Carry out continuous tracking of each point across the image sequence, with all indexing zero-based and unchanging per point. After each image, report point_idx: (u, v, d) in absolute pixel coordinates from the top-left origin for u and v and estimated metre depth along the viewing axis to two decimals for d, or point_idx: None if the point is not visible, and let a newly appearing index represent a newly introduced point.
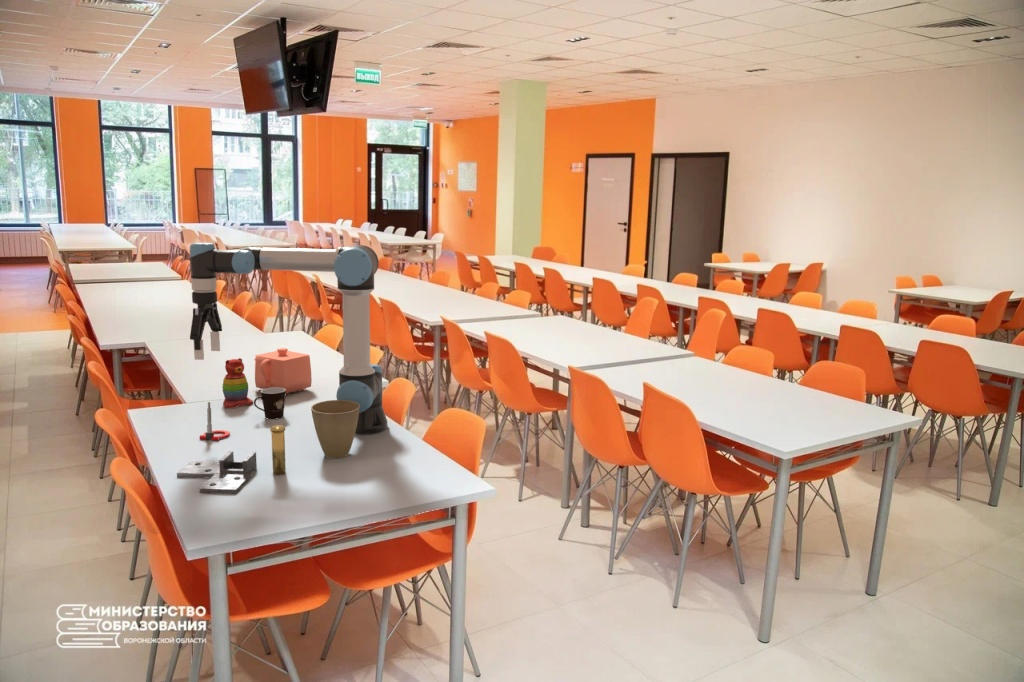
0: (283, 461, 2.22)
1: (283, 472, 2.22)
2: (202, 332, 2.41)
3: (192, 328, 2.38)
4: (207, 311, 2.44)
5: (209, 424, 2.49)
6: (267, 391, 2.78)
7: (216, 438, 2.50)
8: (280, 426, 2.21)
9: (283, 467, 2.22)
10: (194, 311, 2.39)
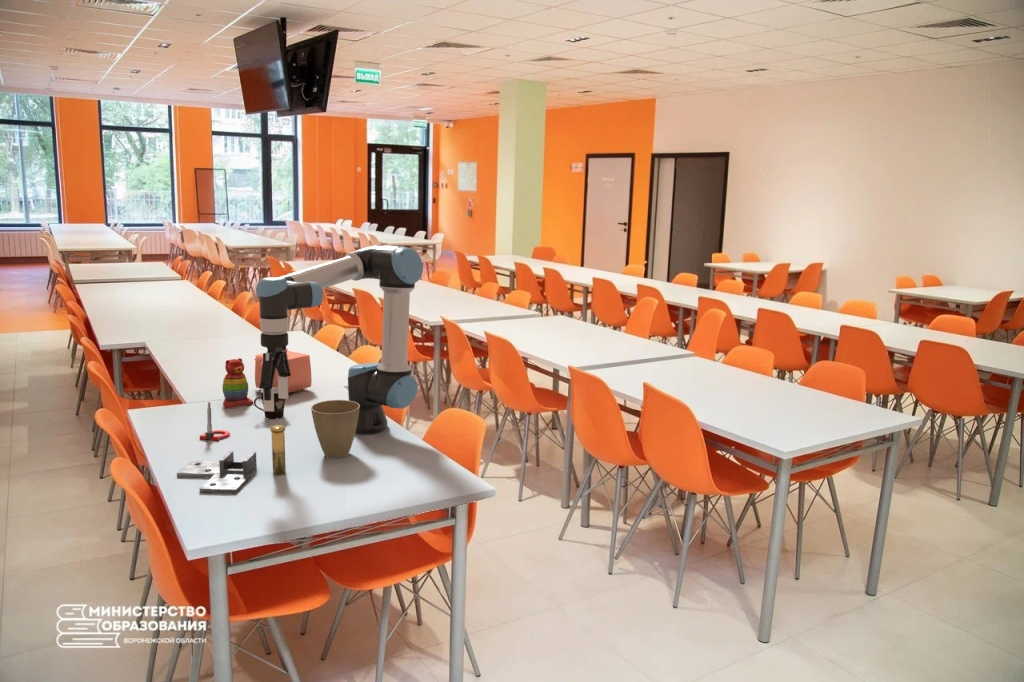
0: (283, 461, 2.22)
1: (283, 472, 2.22)
2: (273, 380, 2.11)
3: (262, 376, 2.08)
4: (278, 355, 2.14)
5: (209, 424, 2.49)
6: None
7: (216, 438, 2.50)
8: (280, 426, 2.21)
9: (283, 467, 2.22)
10: (265, 357, 2.09)
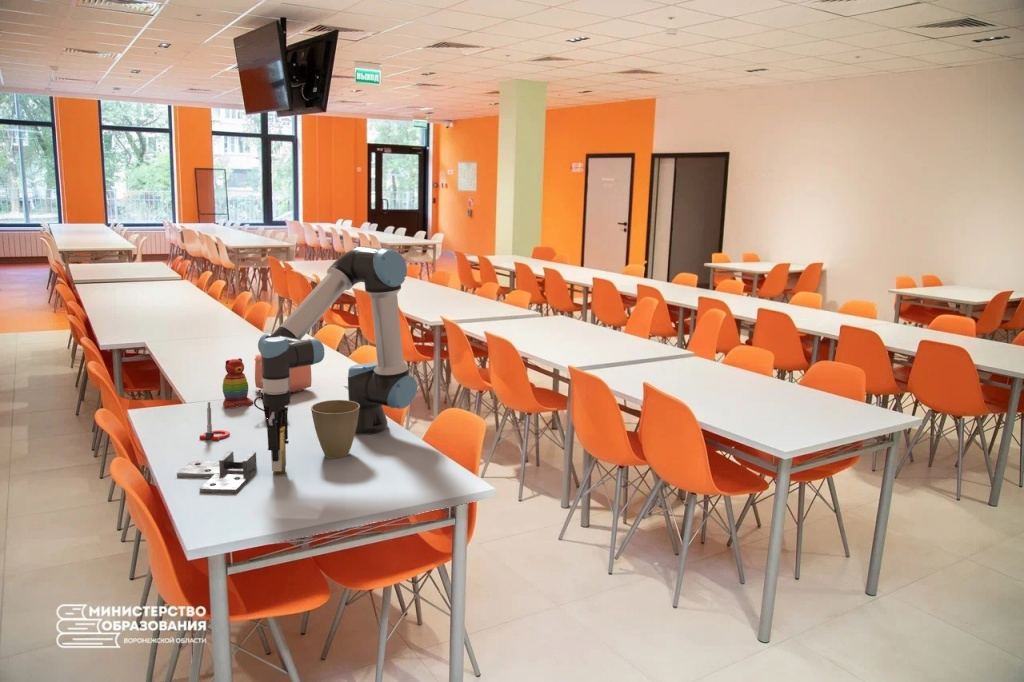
0: (283, 461, 2.22)
1: (283, 472, 2.22)
2: (279, 440, 2.19)
3: (269, 440, 2.15)
4: (280, 415, 2.18)
5: (209, 424, 2.49)
6: None
7: (216, 438, 2.50)
8: None
9: (283, 467, 2.22)
10: (268, 423, 2.14)
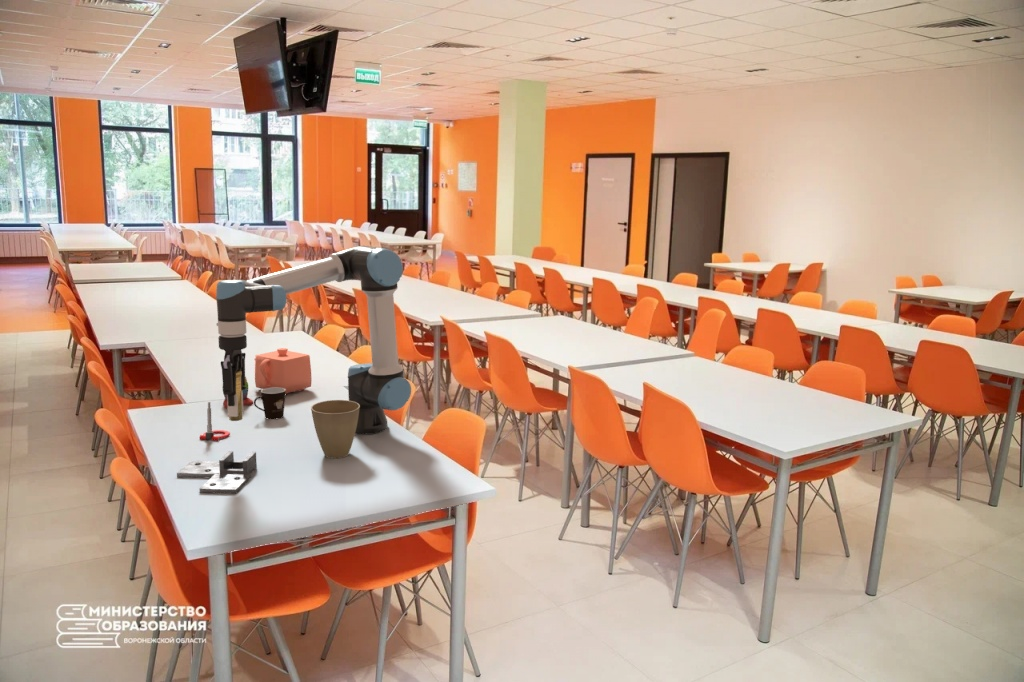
0: (239, 406, 2.18)
1: (239, 418, 2.19)
2: (235, 385, 2.15)
3: (224, 384, 2.12)
4: (236, 359, 2.14)
5: (209, 424, 2.49)
6: (267, 391, 2.78)
7: (216, 438, 2.50)
8: (236, 371, 2.18)
9: (239, 413, 2.19)
10: (223, 365, 2.10)
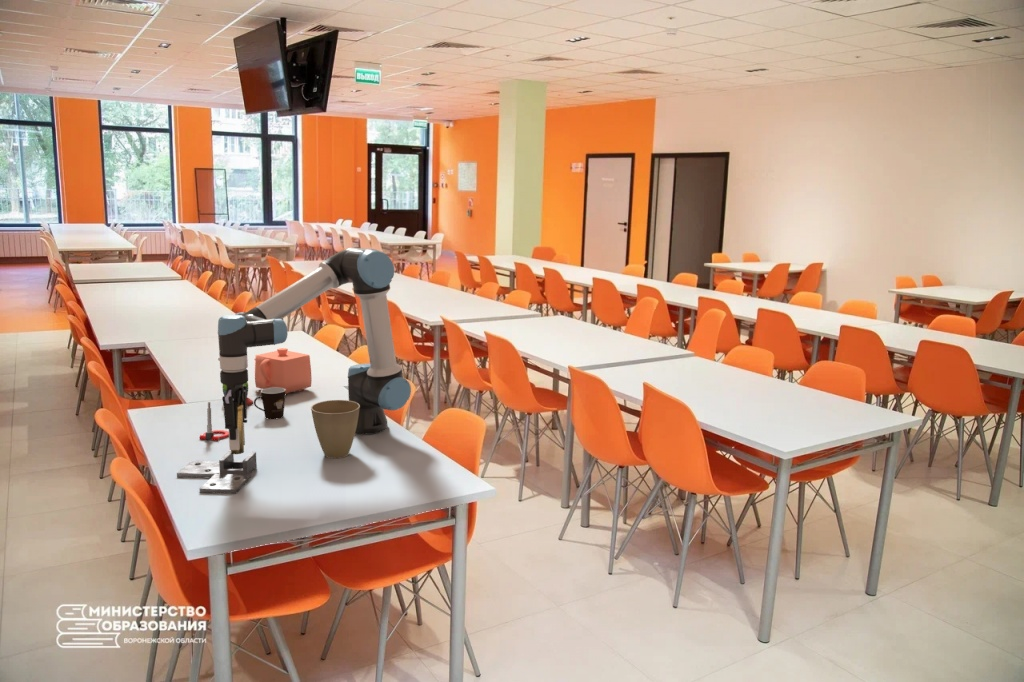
0: (241, 440, 2.20)
1: (241, 451, 2.21)
2: (237, 419, 2.17)
3: (226, 418, 2.14)
4: (237, 394, 2.16)
5: (209, 424, 2.49)
6: (267, 391, 2.78)
7: (216, 438, 2.50)
8: (238, 405, 2.20)
9: (241, 446, 2.21)
10: (225, 401, 2.12)
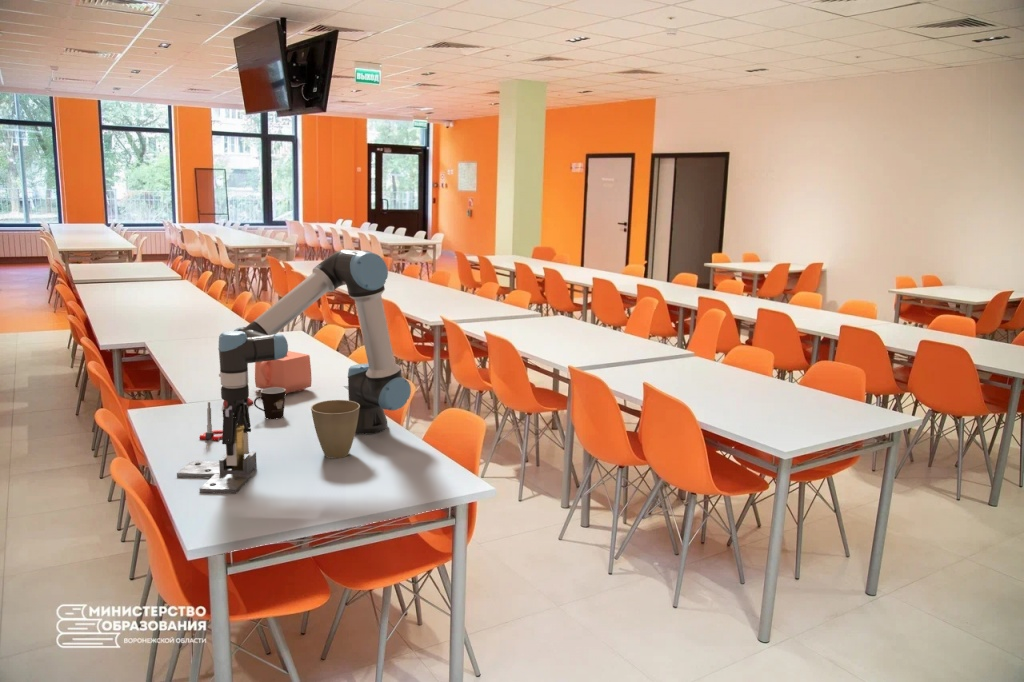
0: (242, 460, 2.22)
1: None
2: (235, 434, 2.16)
3: (224, 433, 2.13)
4: (238, 409, 2.17)
5: (209, 424, 2.49)
6: (267, 391, 2.78)
7: (216, 438, 2.50)
8: (239, 425, 2.21)
9: (242, 466, 2.22)
10: (225, 413, 2.13)
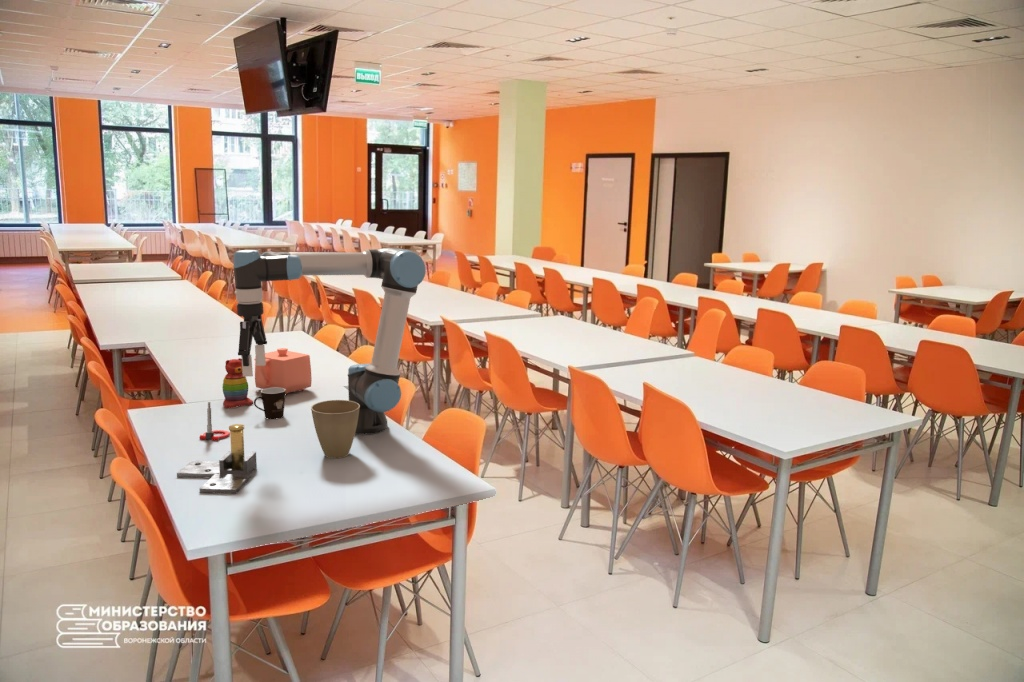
0: (242, 460, 2.22)
1: None
2: (250, 347, 2.24)
3: (240, 343, 2.21)
4: (254, 324, 2.26)
5: (209, 424, 2.49)
6: (267, 391, 2.78)
7: (216, 438, 2.50)
8: (239, 425, 2.21)
9: (242, 466, 2.22)
10: (242, 325, 2.22)
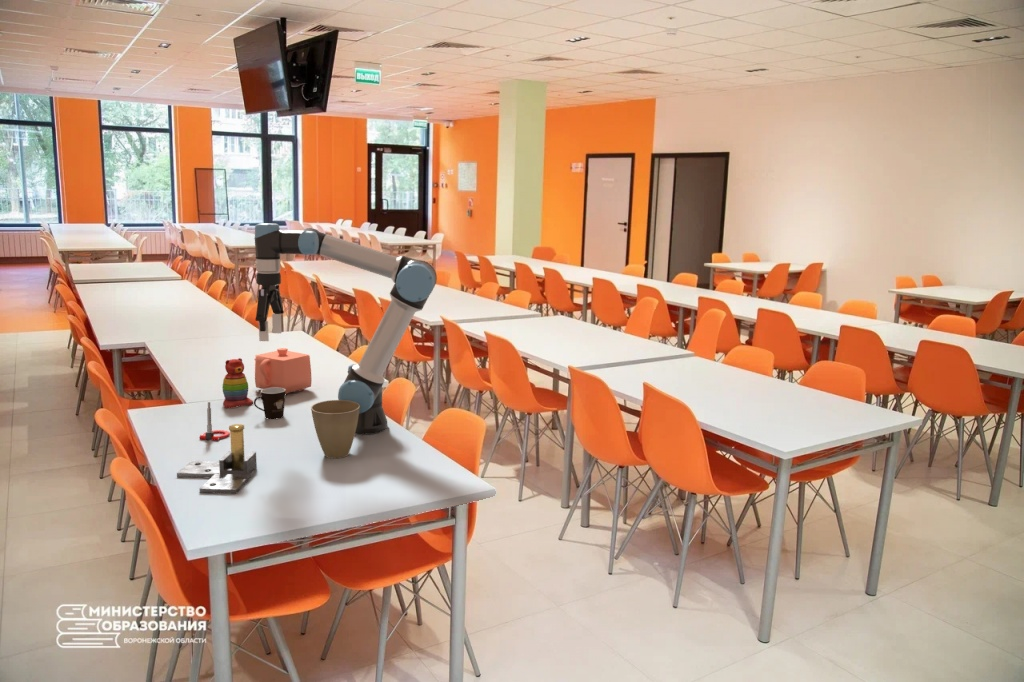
0: (242, 460, 2.22)
1: None
2: (267, 313, 2.39)
3: (258, 309, 2.36)
4: (271, 292, 2.42)
5: (209, 424, 2.49)
6: (267, 391, 2.78)
7: (216, 438, 2.50)
8: (239, 425, 2.21)
9: (242, 466, 2.22)
10: (260, 292, 2.37)
